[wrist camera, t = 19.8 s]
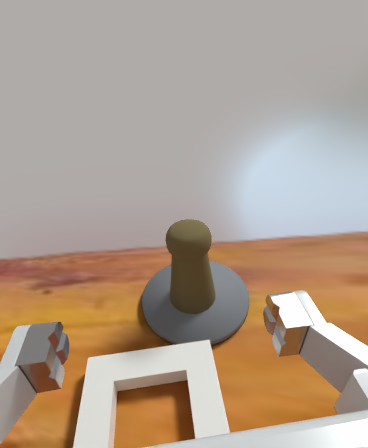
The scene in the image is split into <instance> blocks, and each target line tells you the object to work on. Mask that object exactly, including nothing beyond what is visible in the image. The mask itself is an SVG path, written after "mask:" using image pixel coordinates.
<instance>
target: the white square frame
mask: <svg viewBox="0 0 368 448" xmlns="http://www.w3.org/2000/svg"><path fill="white" fill-rule="evenodd" d="M186 380H188V387H189V395H190V403H191V410H192V418H193V426H194V433H195V439H197V438H203V437H209V436H215V435H221V434H227V433H230V431H229V426H228V422H227V417H226V413H225V408H224V404H223V399H222V394H221V390H220V385H219V381H218V376H217V372H216V367H215V363H214V358H213V353H212V349H211V344H210V340H204V341H197V342H190V343H183V344H177V345H170V346H163V347H157V348H150V349H143V350H137V351H130V352H123V353H117V354H110V355H103V356H96V357H90V358H88V362H87V368H86V374H85V380H84V386H83V392H82V398H81V403H80V409H79V415H78V421H77V427H76V433H75V438H74V444H73V448H114V434H115V420H116V406H117V392H118V391H122V390H129V389H135V388H141V387H148V386H154V385H160V384H167V383H173V382H179V381H186Z"/></svg>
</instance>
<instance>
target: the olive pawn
mask: <svg viewBox="0 0 368 448" xmlns="http://www.w3.org/2000/svg"><path fill="white" fill-rule="evenodd" d="M166 244H167V248H168V250H169V252H170V253H171V254H172V264H171V284H170V300H171V303H172V305H173V306H174V308H176V309H177V310H179V311H180V312H183V313H186V314H197V313H202V312H204V311H206V310H208V309H209V308H210V307H211V306H212V305H213V303H214V301H215V296H216V293H215V288H214V283H213V278H212V273H211V268H210V263H209V258H208V253H207V252H208V251H209V249H210V246H211V233H210V231H209V228H208V227H207V226H206V225H205V224H204V223H203V222H200V221H197V220H181V221H179V222H176V223H174V224H173V225H172V226H171V227H170V228H169V230H168V231H167V234H166Z"/></svg>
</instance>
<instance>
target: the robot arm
mask: <svg viewBox="0 0 368 448" xmlns="http://www.w3.org/2000/svg"><path fill="white" fill-rule="evenodd" d="M266 303H267V306H266V307H265V308H264V312H263V316H264V322H265V326H266V328H267V331H268V332H269V333H270V334H272V335H273V339H272V343H273V345H274V347H275V349H276V352H277V354H278V356H279V357H281V356H290V355H298V354H300V356H301V357H302V358H303V359H304V360H305V361H306V362H307V363H308V364H310V365H311V366H312V367H313V368H314V369H315V370H316V371H317V372H318V373H319V374H321V375H322V376H323V377H324V378H325V379H326V380H327V381H328V382H329V383H331V384H332V385H333V386H334V387H335V388H336V389H337V390H338V391H339V392H340V393H341V394H340V396H339V398H338V400H337V402H336V403H335V406H334V408H335V410H336V412H337V414H338V415H334V416H328V417H322V418H316V419H310V420H304V421H298V422H292V423H286V424H280V425H274V426H269V427H263V428H257V429H251V430H245V431H239V432H233V433H227V434H221V435H215V436H209V437H203V438H197V439H191V440H185V441H179V442H173V443H167V444H161V445H155V446H149V447H144V448H368V347H367V346H366V345H364V344H363V343H361V342H360V341H358V340H356V339H355V338H353V337H352V336H350V335H349V334H347V333H345V332H344V331H342V330H341V329H339V328H338V327H336V326H334V325H333V324H331V323H326V321H325V320H324V318H323V317H322V315H321V314H320V312H319V311H318V309H317V308H316V306H315V305H314V303H313V301H312V300H311V298H310V297H309V295H308V294H307V292H306V291H304V290H301V291H294V292H284V293H277V294H270V295H267V297H266ZM62 330H63V326H62V324H61V322H53V323H43V324H34V325H25V326H18V327H17V328H16V329H15V330H14V332H13V334H12V336H11V339H10V341H9V343H8V346H7V348H6V350H5V353H4V355H3V357H2V360H1V362H0V444H1V442H2V441H3V440H4V438H5V437H6V436H7V434H8V433H9V432H10V430H11V429H12V428H13V426H14V425H15V424H16V422H17V421H18V419H19V418H20V417H21V415H22V414H23V413H24V411H25V410H26V409H27V407H28V406H29V405H30V403H31V402H32V401H33V399H34V398H35V396H36V395H37V393H40V392H45V391H51V390H57V389H61V385H62V381H63V377H64V372H65V370H64V368H63V366H62V365H63V364H64V363H65V361H66V360H67V359H68V354H69V341H68V337H67V335H66V334H65V333H63V332H62Z"/></svg>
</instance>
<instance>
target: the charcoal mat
mask: <svg viewBox="0 0 368 448" xmlns="http://www.w3.org/2000/svg"><path fill="white" fill-rule="evenodd" d="M209 263H210V268H211V273H212V278H213V283H214V288H215V293H216V296H215V301H214V303H213V305H212V306H211V307H210V308H209V309H208V310H206V311H204V312H202V313H197V314H186V313H183V312H180V311H179V310H177V309H176V308H174V306H173V305H172V303H171V300H170V284H171V265H169V266H167V267H165V268H163V269H162V270H160V271H159V272H158V273H156V274H155V275H154V276H153V277H152V278H151V280H150V281H149V282H148V284H147V285H146V287H145V290H144V292H143V296H142V308H143V312H144V316H145V319H146V321H147V324H148V325H149V327H150V328H151V329H152V330H153V331H154V333H155V334H157V335H158V336H159V337H160V338H162V339H164V340H165V341H167V342H170V343H172V344H175V345H177V344H183V343H190V342H197V341H204V340H210V344H211V345H215V344H218V343H220V342H222V341H224V340H226V339H228V338H229V337H231V336H232V335H233V334H235V333H236V332H237V331H238V330H239V328H240V327H241V326H242V325H243V323H244V321H245V319H246V317H247V313H248V308H249V294H248V290H247V287H246V285H245V283H244V282H243V280H242V279H241V278H240V277H239V275H238V274H237V273H235V272H234V271H233V270H231V269H230V268H228V267H226V266H224V265H222V264H220V263H217V262H213V261H209Z"/></svg>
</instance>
